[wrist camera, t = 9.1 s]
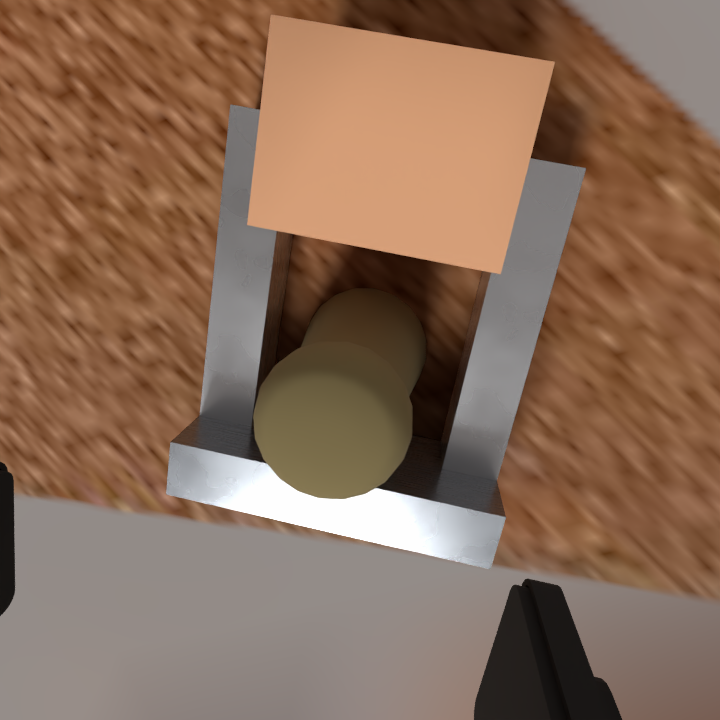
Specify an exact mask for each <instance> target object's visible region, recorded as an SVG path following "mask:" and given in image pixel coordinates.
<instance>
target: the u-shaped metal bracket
mask: <svg viewBox="0 0 720 720" xmlns="http://www.w3.org/2000/svg"><path fill="white" fill-rule="evenodd" d="M259 115H260V110H258V109H252V108H247V107H241V106H236V105H230V115H229V125H228V135H227V145H226V155H225V165H224V175H223V186H222V196H221V206H220V216H219V226H218V236H217V246H216V257H215V267H214V277H213V287H212V297H211V307H210V317H209V328H208V338H207V348H206V358H205V368H204V378H203V388H202V399H201V409H200V416H199V417H197V418H196V419H195V420H194V421H193V422H192V423H191V424H190V425H189V426H188V427H186V428H185V429H184V430H183V431H182V432H181V433H180V434H179V435H178V436H177V437H176V438H174V439H173V440H172V441H171V442H170V454H169V467H168V479H167V491H166V494H167V495H171V496H176V497H180V498H184V499H189V500H193V501H197V502H202V503H206V504H210V505H215V506H219V507H223V508H228V509H232V510H236V511H241V512H245V513H249V514H254V515H258V516H262V517H267V518H271V519H275V520H280V521H284V522H288V523H292V524H297V525H301V526H305V527H310V528H314V529H318V530H323V531H327V532H331V533H336V534H340V535H344V536H349V537H353V538H357V539H362V540H366V541H370V542H375V543H379V544H383V545H388V546H392V547H396V548H401V549H405V550H409V551H414V552H418V553H422V554H427V555H431V556H435V557H440V558H444V559H448V560H453V561H457V562H461V563H465V564H470V565H474V566H478V567H483V568H487V569H491V565H492V562H493V559H494V555H495V552H496V549H497V545H498V542H499V539H500V535H501V532H502V529H503V525H504V522H505V519H506V516H505V512H504V508H503V504H502V500H501V496H500V492H499V488H498V484H497V478H498V475H499V471H500V468H501V464H502V461H503V457H504V454H505V450H506V447H507V443H508V440H509V436H510V433H511V429H512V426H513V422H514V419H515V415H516V412H517V408H518V405H519V401H520V398H521V394H522V391H523V387H524V384H525V380H526V377H527V373H528V370H529V366H530V363H531V359H532V356H533V352H534V349H535V345H536V342H537V338H538V335H539V331H540V328H541V324H542V321H543V317H544V314H545V310H546V307H547V303H548V300H549V296H550V293H551V289H552V286H553V282H554V279H555V275H556V272H557V268H558V265H559V261H560V258H561V254H562V251H563V247H564V244H565V240H566V237H567V233H568V230H569V226H570V223H571V219H572V216H573V212H574V209H575V205H576V202H577V198H578V195H579V191H580V188H581V184H582V181H583V177H584V174H585V170H586V168H582V167H576V166H571V165H565V164H559V163H554V162H548V161H543V160H537V159H532V158H530V162H529V166H528V169H527V173H526V177H525V181H524V185H523V189H522V193H521V197H520V201H519V205H518V209H517V213H516V216H515V220H514V224H513V228H512V232H511V236H510V240H509V244H508V248H507V252H506V256H505V259H504V263H503V267H502V271H501V274H497V273H492V272H486V271H482V275H481V279H480V283H479V287H478V291H477V295H476V299H475V303H474V307H473V311H472V315H471V319H470V324H469V328H468V332H467V336H466V340H465V344H464V348H463V352H462V356H461V360H460V364H459V368H458V373H457V377H456V381H455V385H454V389H453V393H452V397H451V401H450V405H449V409H448V413H447V417H446V421H445V426H444V430H443V434H442V438H441V441H438V440H433V439H429V438H424V437H419V436H415V435H412V439H411V441H410V444H409V447H408V449H407V452H406V455H405V458H404V460H403V461H402V462H401V464H400V465H399V466H398V467H397V468H396V470H395V471H394V472H393V473H392V475H391V476H390V477H389V478H388V479H387V481H386V482H385V483H383V484H381V485H380V486H378V487H376V488H375V489H373V490H372V491H370V492H368V493H367V494H364V495H360V496H356V497H352V498H347V499H322V498H316V497H313V496H310V495H307V494H304V493H301V492H298V491H297V490H295V489H294V488H292V487H291V486H289V485H288V484H286V483H285V482H284V481H282V480H281V479H280V478H279V477H278V476H277V475H276V474H275V473H274V471H273V470H272V469H271V468H270V467H269V465H268V464H267V463H266V462H265V460H264V459H263V457H262V454H261V452H260V449H259V447H258V445H257V442H256V440H255V433H254V420H253V414H254V409H255V405H256V401H257V397H258V394H259V390H260V386H261V385H262V383H263V382H264V381H265V379H266V378H267V376H268V375H269V373H270V372H271V370H272V369H273V367H274V366H275V361H276V353H277V346H278V339H279V332H280V325H281V317H282V310H283V303H284V296H285V289H286V281H287V274H288V267H289V260H290V253H291V245H292V238H293V234H291V233H286V232H280V231H275V230H270V229H265V228H260V227H255V226H249V225H247V221H248V212H249V203H250V195H251V186H252V177H253V168H254V159H255V151H256V142H257V133H258V124H259Z"/></svg>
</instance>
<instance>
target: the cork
mask: <svg viewBox="0 0 720 720" xmlns="http://www.w3.org/2000/svg"><path fill="white" fill-rule="evenodd" d="M425 361H426V337H425V334H424V331H423V328H422V325H421V322H420V320H419V319H418V318H417V316H416V315H415V314H414V312H413V311H412V309H411V308H410V307H409V306H408V305H407V304H406V303H404V302H403V301H401V300H400V299H399V298H397V297H396V296H394V295H393V294H390V293H387V292H384V291H381V290H378V289H375V288H354V289H351V290H348V291H345V292H342V293H339V294H336V295H334V296H333V297H332V298H330V299H329V300H328V301H326V302H325V303H324V304H322V305H321V306H320V308H319V309H318V311H317V312H316V313H315V315H314V316H313V318H312V319H311V321H310V323H309V326H308V329H307V332H306V334H305V337H304V340H303V343H302V346H301V348H298V349H296V350H295V351H294V352H292V353H291V354H289V355H288V356H287V357H285V358H284V359H283V360H281V361H280V362H279V363H278V364H276V365H275V366H274V367H273V369H272V370H271V372H270V373H269V375H268V376H267V378H266V379H265V381H264V382H263V383H262V385H261V386H260V390H259V394H258V397H257V401H256V405H255V409H254V414H253V420H254V433H255V440H256V442H257V445H258V447H259V449H260V452H261V454H262V457H263V459H264V460H265V462H266V463H267V464H268V465H269V467H270V468H271V469H272V470H273V471H274V473H275V474H276V475H277V476H278V477H279V478H280V479H281V480H282V481H284V482H285V483H286V484H288V485H289V486H291V487H292V488H294V489H295V490H297V491H298V492H301V493H304V494H307V495H310V496H313V497H316V498H322V499H347V498H352V497H356V496H360V495H364V494H367V493H368V492H370V491H372V490H373V489H375V488H376V487H378V486H380V485H381V484H383V483H385V482H386V481H387V479H388V478H389V477H390V476H391V475H392V473H393V472H394V471H395V470H396V468H397V467H398V466H399V465H400V464H401V462H402V461H403V460H404V458H405V455H406V452H407V449H408V447H409V444H410V441H411V439H412V404H411V401H410V398H409V396H410V394H411V392H412V390H413V388H414V386H415V385H416V383H417V381H418V379H419V377H420V375H421V372H422V369H423V366H424V363H425Z"/></svg>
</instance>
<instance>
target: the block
mask: <svg viewBox="0 0 720 720" xmlns="http://www.w3.org/2000/svg"><path fill="white" fill-rule="evenodd" d="M554 64H555V62H552V61H546V60H540V59H534V58H528V57H522V56H516V55H510V54H504V53H498V52H492V51H486V50H480V49H474V48H468V47H462V46H456V45H450V44H444V43H438V42H432V41H426V40H420V39H414V38H408V37H402V36H396V35H390V34H384V33H378V32H372V31H366V30H360V29H354V28H348V27H342V26H336V25H330V24H324V23H318V22H312V21H306V20H300V19H294V18H288V17H282V16H276V15H271V19H270V28H269V36H268V45H267V54H266V63H265V72H264V80H263V89H262V98H261V107H260V115H259V124H258V133H257V142H256V151H255V159H254V168H253V177H252V186H251V195H250V203H249V212H248V221H247V225H249V226H255V227H260V228H265V229H270V230H275V231H280V232H286V233H291V234H296V235H301V236H306V237H311V238H316V239H322V240H327V241H332V242H337V243H342V244H347V245H352V246H358V247H363V248H368V249H373V250H378V251H383V252H389V253H394V254H399V255H404V256H409V257H414V258H419V259H425V260H430V261H435V262H440V263H445V264H450V265H455V266H461V267H466V268H471V269H476V270H481V271H486V272H492V273H497V274H501V271H502V267H503V263H504V259H505V256H506V252H507V248H508V244H509V240H510V236H511V232H512V228H513V224H514V220H515V216H516V213H517V209H518V205H519V201H520V197H521V193H522V189H523V185H524V181H525V177H526V173H527V169H528V166H529V162H530V158H531V154H532V150H533V146H534V142H535V138H536V134H537V130H538V126H539V123H540V119H541V115H542V111H543V107H544V103H545V99H546V95H547V91H548V87H549V83H550V80H551V76H552V72H553V68H554Z"/></svg>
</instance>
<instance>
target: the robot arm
mask: <svg viewBox="0 0 720 720" xmlns="http://www.w3.org/2000/svg"><path fill="white" fill-rule="evenodd" d="M14 593H15V553H14V480H13V476H12V474H11V473H9V472H8V470H7V467H6V466H5V464H3V463H2V462H0V616H1V614H3V613H4V612H5V610H6V609H7V608H8V606H9V605H10V603H11V601H12V599H13V596H14ZM474 720H622V718H621V716H620V713H619V711H618V708H617V705H616V703H615V700H614V698H613V695H612V693H611V691H610V689H609V687H608V685H607V683H606V682H605V681H604V680H603V679H601V678H597V677H594V676H593V673H592V670H591V667H590V665H589V662H588V659H587V657H586V654H585V651H584V649H583V646H582V643H581V640H580V638H579V635H578V632H577V630H576V627H575V624H574V621H573V619H572V616H571V613H570V610H569V608H568V605H567V602H566V600H565V597H564V594H563V591H562V589H561V588H560V587H559V586H558V585H554V584H549V583H545V582H540V581H535V580H531V579H525V580H524V582H523V584H522V586H519V585H513V586H512V588H511V590H510V593H509V596H508V600H507V602H506V606H505V609H504V612H503V615H502V618H501V622H500V625H499V628H498V631H497V634H496V637H495V640H494V643H493V647H492V650H491V653H490V656H489V659H488V663H487V666H486V669H485V672H484V675H483V678H482V681H481V685H480V688H479V692H478V694H477V698H476V702H475V710H474Z"/></svg>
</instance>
